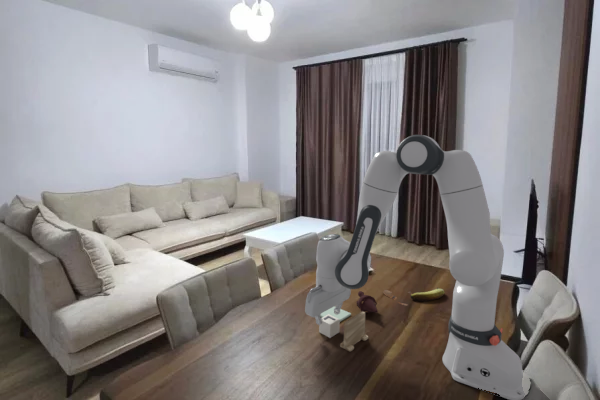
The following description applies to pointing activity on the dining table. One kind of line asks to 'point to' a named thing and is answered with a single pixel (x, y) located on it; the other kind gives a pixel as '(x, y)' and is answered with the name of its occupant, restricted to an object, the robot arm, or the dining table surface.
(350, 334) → the oak screen
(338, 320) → the letter cube
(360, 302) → the maroon gnome figurine
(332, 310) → the green tile
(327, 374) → the dining table surface
